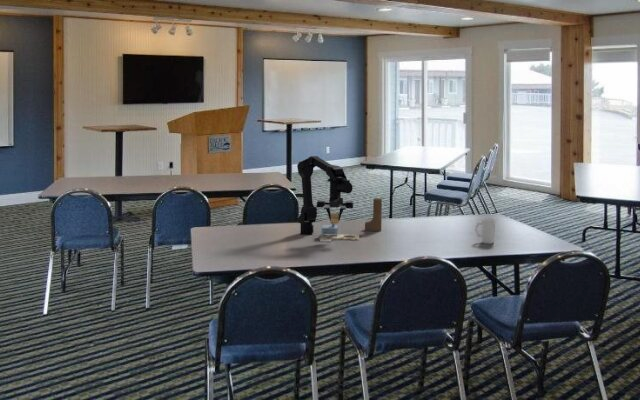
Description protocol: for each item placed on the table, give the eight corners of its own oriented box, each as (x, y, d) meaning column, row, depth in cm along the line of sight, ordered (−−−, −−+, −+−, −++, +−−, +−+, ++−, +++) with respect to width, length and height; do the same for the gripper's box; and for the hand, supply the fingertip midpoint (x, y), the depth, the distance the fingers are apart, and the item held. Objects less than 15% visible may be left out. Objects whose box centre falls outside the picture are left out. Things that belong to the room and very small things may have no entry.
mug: (493, 241, 378) (494, 218, 376) (495, 243, 372) (496, 220, 370) (473, 240, 379) (474, 218, 377) (475, 243, 372) (476, 220, 371)
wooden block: (364, 230, 404) (365, 198, 402) (365, 229, 409) (365, 197, 406) (380, 231, 403) (381, 199, 400) (381, 229, 408) (381, 198, 405)
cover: (321, 237, 381) (321, 222, 380) (322, 233, 390) (322, 219, 389) (336, 237, 381) (336, 222, 380) (337, 234, 389) (337, 219, 388)
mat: (320, 241, 375) (320, 240, 375) (320, 239, 380) (320, 238, 380) (330, 241, 374) (330, 240, 374) (331, 239, 380) (331, 238, 380)
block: (331, 221, 378) (331, 212, 377) (338, 222, 378) (339, 212, 377) (330, 223, 374) (330, 213, 373) (338, 223, 374) (338, 214, 373)
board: (318, 239, 381) (318, 237, 381) (320, 235, 391) (320, 234, 391) (358, 240, 379) (358, 238, 379) (359, 236, 389) (359, 234, 389)
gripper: (316, 193, 366) (315, 223, 368) (353, 194, 365) (352, 224, 367) (317, 189, 377) (317, 219, 379) (353, 190, 376) (352, 220, 378)
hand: (334, 220), depth 376 cm, fingers closed on block, 4 cm apart
